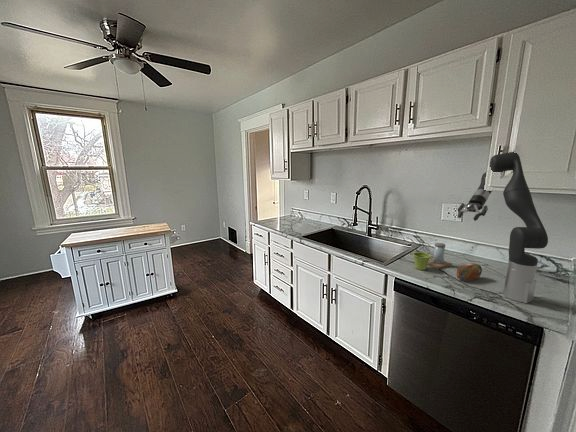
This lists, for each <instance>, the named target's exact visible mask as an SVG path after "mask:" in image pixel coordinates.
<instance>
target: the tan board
mask: <svg viewBox="0 0 576 432" xmlns="http://www.w3.org/2000/svg"><path fill="white" fill-rule="evenodd" d="M427 266H429V267H432V268H435V269H438V270H442V269H446V268H448V267H451V266H453V263H452V262H449V261H445V260H444V262H443V264H436V263H434V258H432V259H429V261H428V265H427Z"/></svg>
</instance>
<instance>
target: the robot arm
mask: <svg viewBox="0 0 576 432" xmlns="http://www.w3.org/2000/svg"><path fill="white" fill-rule="evenodd" d="M514 152H515V151H509V153H508V152H504V153H503V152H502V153H498V154H495V155H493V156H491V158H490V160H489V167H491V170H492V171H493V172H503V171H504V172H508V171H512V170H513V171H512V175H511V176H510V177H511V178H510V179H509V180H508V182H507V184H506V185H505V187H504V189H503V193H502V194H503V195H502V196H503V198H504V203H505V205H506V207H507V208H508V209H509V210H510V211H511V212H512V213H514V214H515V215H516V216H518V217H519V218H520V219H521V221H523V223H524V224H525V226H515V227H514V228H512V230H511V231H510V235H509V246H508V260H507V268H506V274H505V280H504V281H505V282H504V286H503V287H504V288H503V294H502V295H503V296H504V297H505V298H507V299H510V300H512V301H515V302H520V303H524V304H528V303H531V302H533V300H534V295H535V291H536V284H537V280H535V278H536V274H537V269H538V262H539V259H538V258H537V257H536V256H534V255H532V254H529V253H526V252H525V249H537V250H540V249H544V248H546V247H547V245H548V244H549V238H548V234H547V230H546V229H545V226H544V225H543V222H542V220H541V219H540V216H539V215H538V212H537V209H536V207H535V204H534V200H533V197H532V193H531V190H530V187H529V185H528V184H527V179H526V178H525V173H524V170H523V166H522V160H521V158H520V155H519V153H518V152H517V153H518V154H517V153H514ZM486 172H487V171H486ZM486 172H484V173H483V174H482V175H481V179H480V183H479V186H478V188H477V189H476V191H475V192H473V194H472V196H471V198H470V199H469V201H468V203H467V204H465V203H464V202H461V204H460V205H459V207H458V208H457V211H458V214H457V217H458V219H461V218H462V217H463V215H464V214H465V213H469V212H471V213H475V215H474V217H472V218H473V221H475V222H476V221H478V219H479V218H480V217H481V216H482V217H485V216H486V213H487V212H488V210H489V207H488V205H485V204H486V203H487V201H488V199H489V197H490V195H491V193H492V192H493V190H492V191H486V190H484V185H485V177H486ZM480 210H481V212H480Z"/></svg>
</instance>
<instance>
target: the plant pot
mask: <svg viewBox="0 0 576 432" xmlns="http://www.w3.org/2000/svg"><path fill="white" fill-rule="evenodd" d="M412 255H413V260H414V268H415V269H417V270H420V271H425V270H427V268H428V266H429V265H428V261H429V260H430V259H431V257H432V256H431V255H430V254H429V253H426V252H421V251H420V252H419V251H415V252H413V253H412Z"/></svg>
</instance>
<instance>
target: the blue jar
mask: <svg viewBox="0 0 576 432" xmlns="http://www.w3.org/2000/svg"><path fill="white" fill-rule="evenodd" d="M445 248H446V244H445V243H443V242H435V243H434V253H433V259H434V263H436V264H443V262H444V261H445V260H444V259H445V250H446V249H445Z"/></svg>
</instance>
